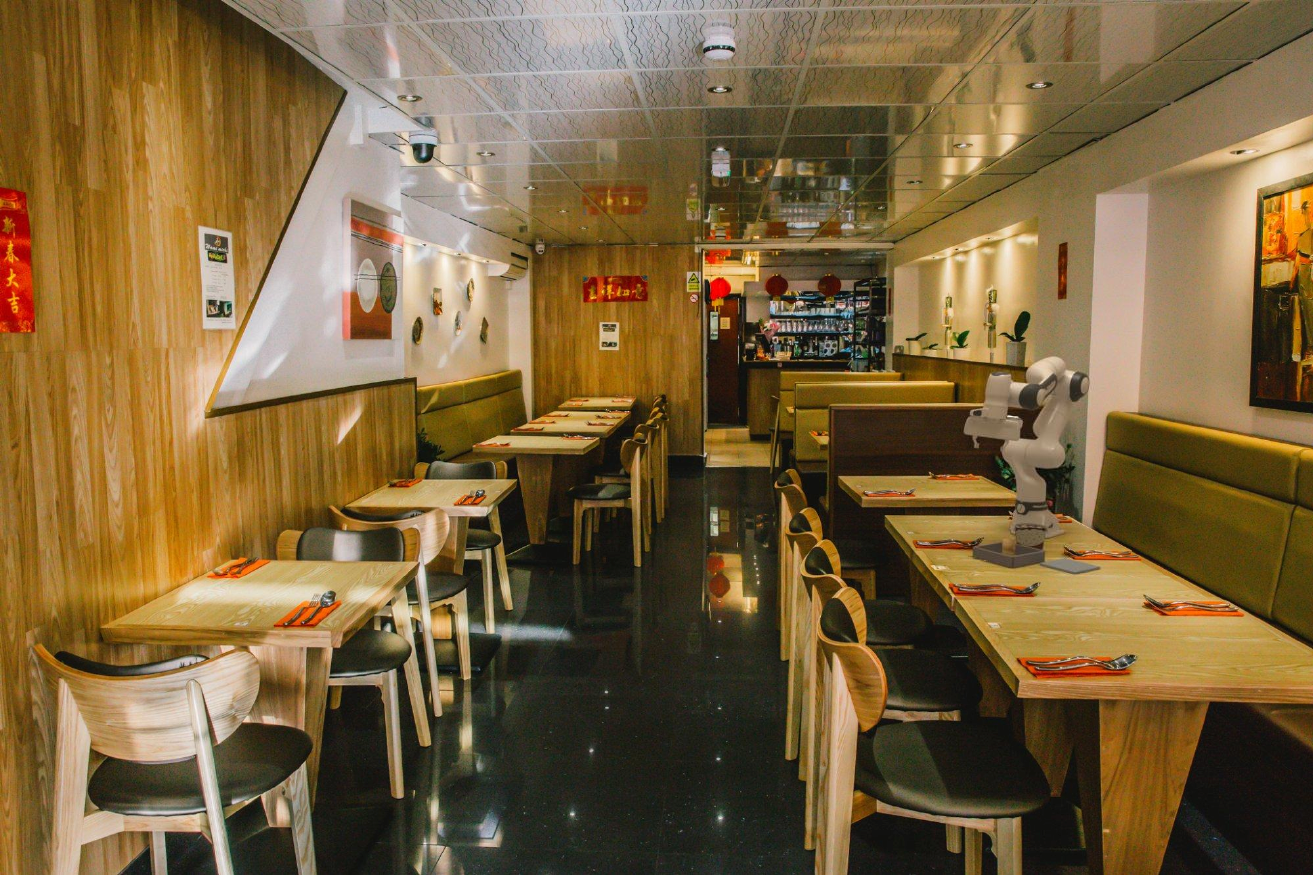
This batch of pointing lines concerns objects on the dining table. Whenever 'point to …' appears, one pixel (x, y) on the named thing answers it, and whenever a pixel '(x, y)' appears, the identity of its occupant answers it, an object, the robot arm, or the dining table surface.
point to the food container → (1030, 535)
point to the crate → (1022, 559)
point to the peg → (1008, 546)
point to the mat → (1069, 566)
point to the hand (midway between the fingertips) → (989, 449)
